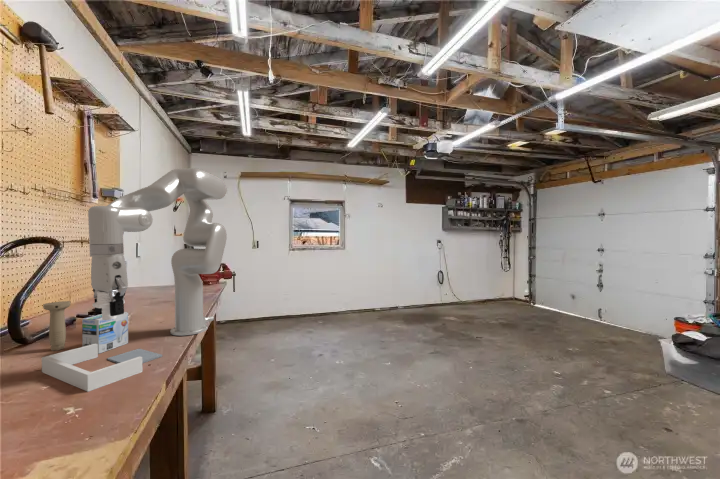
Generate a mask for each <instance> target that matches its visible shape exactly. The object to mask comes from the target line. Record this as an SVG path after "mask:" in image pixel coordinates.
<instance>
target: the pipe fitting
mask: <svg viewBox="0 0 720 479" xmlns="http://www.w3.org/2000/svg"><path fill="white" fill-rule="evenodd" d="M113 290H115V289H113ZM96 293H97V302H96V303H95V302H92V307H93V308H94V309H95V308H102V312H101V314H102V320H111V319H115V318H116V316H117V315H116V316H110V302H111V298H110V295H109V292H104V291H97V292H96ZM115 295H116V293H114V296H115ZM125 303H126V302H125V299H124V304H125Z"/></svg>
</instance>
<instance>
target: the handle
mask: <svg viewBox="0 0 720 479" xmlns="http://www.w3.org/2000/svg"><path fill="white" fill-rule="evenodd" d="M70 306H71V301H69V300H67V301H66V300H65V301H54V302H47V303H44V304H42V307H43V310H46V311H49V329H48V338H49V344H50V351H51V352H53V351H61V350H63V349H65V343H66V338H67V329H66V319H65V318H66V317H65V309H67V308H69V307H70Z"/></svg>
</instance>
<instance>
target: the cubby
mask: <svg viewBox="0 0 720 479" xmlns="http://www.w3.org/2000/svg"><path fill="white" fill-rule="evenodd" d="M98 357H99V354H98V344H92V345H88V346H84V347H83V346H81V347H78V348H72V349H69V350H65V351H61V352H58V353H54V354H53V353H52V354H50V355H46V356H42V357H41V373H43V374H46V375H48V376H50V377H52V378H54V379H57V380H59V381H61V382H64V383H67V384H69V385H71V386H73V387H76V388H78V389H80V390H83V391H85V392H87V393H88V392H91V391H93V390H94V391H95V390H96V389H100V388H102V387H105V386H107V385H110V384H113V383H115V382H118V381H121V380H123V379H127V378H129V377H132V376H134V375H137V374H138V375H139V374H140V373H143V363H142V357H136V358H133V359H130V360H127V361H124V362H121V363H115V364H112V365H109V366H106V367H103V368H100V369H96V370H94V371H93V370H92V371H89V370H86V369H83V368H80V367H78V366H76V364H79V363H83V362H85V361H89V360H93V359H96V358H98Z"/></svg>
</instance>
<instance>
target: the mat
mask: <svg viewBox="0 0 720 479" xmlns="http://www.w3.org/2000/svg"><path fill="white" fill-rule="evenodd" d="M136 357H142V364H145V363H147V362H151V361H153V360H156V359H158V358H162V357H163V354H161V353H157V352H153V351H150V350H147V349H143V348H136V349H134V350H129V351H126V352H123V353H120V354H116V355H114V356H110V357H107V358H106V360H107V361H110V362H112V363H115V364H118V363H121V362H124V361H127V360H130V359H133V358H136Z"/></svg>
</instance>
